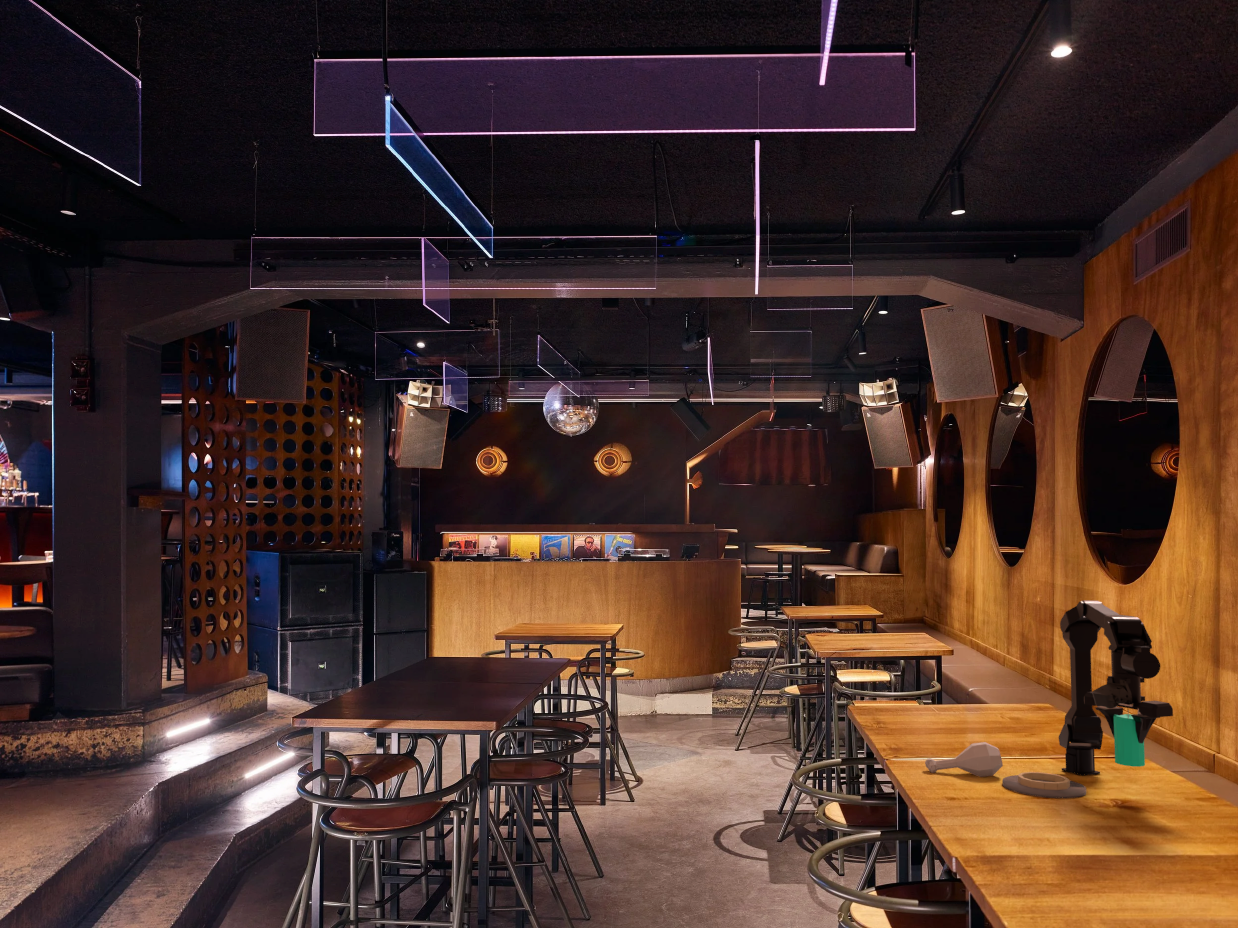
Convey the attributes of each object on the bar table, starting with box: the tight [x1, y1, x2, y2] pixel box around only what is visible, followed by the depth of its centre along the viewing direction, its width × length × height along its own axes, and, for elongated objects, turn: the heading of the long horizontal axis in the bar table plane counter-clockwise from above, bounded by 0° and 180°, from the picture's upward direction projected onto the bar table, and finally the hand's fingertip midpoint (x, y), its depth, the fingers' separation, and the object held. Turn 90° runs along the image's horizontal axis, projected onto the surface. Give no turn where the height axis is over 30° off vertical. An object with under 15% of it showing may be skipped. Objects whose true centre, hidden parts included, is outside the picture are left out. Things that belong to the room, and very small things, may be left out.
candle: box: [1113, 708, 1146, 768], centre depth 213 cm, size 6×6×12 cm
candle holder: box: [1001, 771, 1087, 799], centre depth 222 cm, size 18×18×2 cm
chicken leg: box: [924, 741, 1004, 778], centre depth 236 cm, size 8×18×8 cm, turn 75°
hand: (1128, 742), depth 213 cm, fingers closed on candle, 5 cm apart
